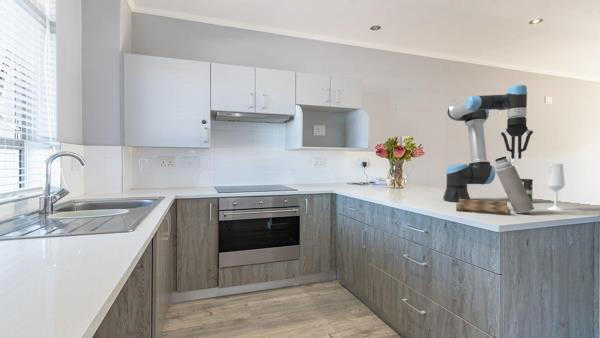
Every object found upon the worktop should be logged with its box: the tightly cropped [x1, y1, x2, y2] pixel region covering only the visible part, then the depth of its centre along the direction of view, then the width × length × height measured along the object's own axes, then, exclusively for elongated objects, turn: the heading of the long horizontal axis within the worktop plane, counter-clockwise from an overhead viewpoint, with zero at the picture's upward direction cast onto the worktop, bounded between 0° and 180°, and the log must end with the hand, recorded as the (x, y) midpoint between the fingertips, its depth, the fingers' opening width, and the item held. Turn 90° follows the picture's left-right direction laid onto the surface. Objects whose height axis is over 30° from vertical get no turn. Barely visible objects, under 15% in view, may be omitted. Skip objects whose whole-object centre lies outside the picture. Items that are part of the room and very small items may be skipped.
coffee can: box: [520, 178, 534, 204], centre depth 174 cm, size 10×10×14 cm
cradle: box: [455, 199, 510, 216], centre depth 150 cm, size 22×18×4 cm
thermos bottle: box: [494, 156, 535, 214], centre depth 142 cm, size 8×8×28 cm
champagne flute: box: [547, 163, 566, 212], centre depth 148 cm, size 7×7×24 cm
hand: (516, 165), depth 141 cm, fingers closed
